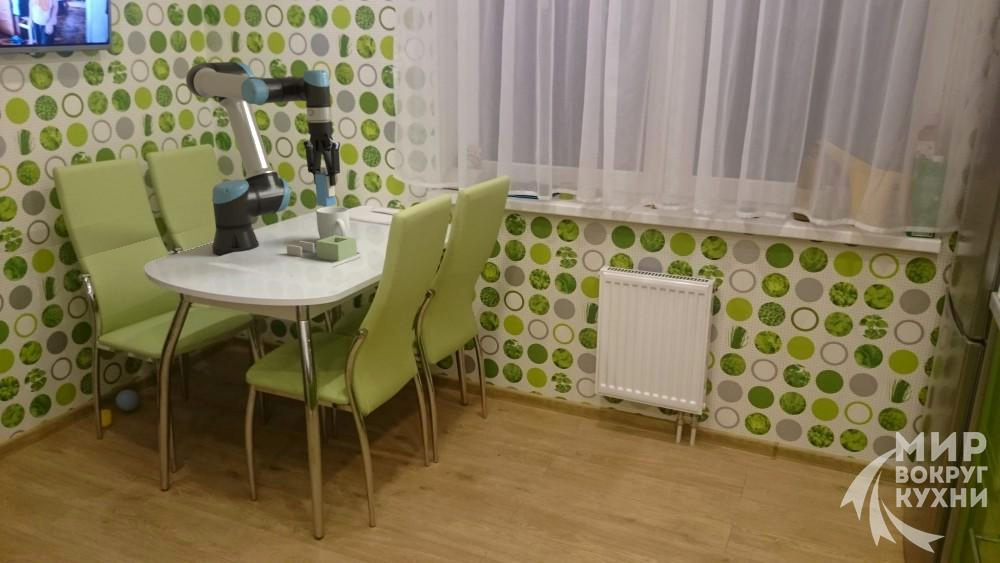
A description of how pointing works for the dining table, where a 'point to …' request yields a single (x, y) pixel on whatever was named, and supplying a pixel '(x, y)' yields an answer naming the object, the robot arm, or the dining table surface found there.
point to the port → (336, 248)
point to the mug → (333, 221)
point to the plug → (323, 189)
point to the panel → (307, 251)
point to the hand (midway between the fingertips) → (325, 195)
